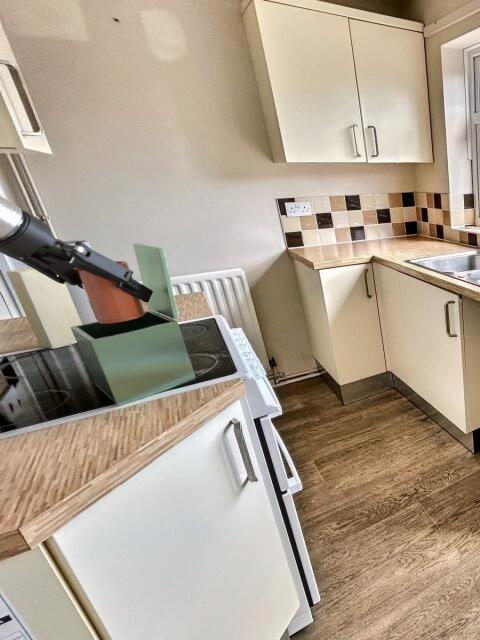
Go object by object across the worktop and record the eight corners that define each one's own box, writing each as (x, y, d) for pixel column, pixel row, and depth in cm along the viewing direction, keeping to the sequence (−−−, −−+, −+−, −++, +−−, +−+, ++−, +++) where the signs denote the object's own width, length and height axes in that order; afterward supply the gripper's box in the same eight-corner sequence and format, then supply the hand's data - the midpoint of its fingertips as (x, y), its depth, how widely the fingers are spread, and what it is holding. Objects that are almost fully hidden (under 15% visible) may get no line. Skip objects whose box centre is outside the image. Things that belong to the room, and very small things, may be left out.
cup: (93, 319, 86) (71, 266, 82) (138, 310, 91) (119, 260, 87) (103, 325, 82) (81, 269, 78) (150, 315, 87) (131, 263, 83)
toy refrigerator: (75, 336, 123) (44, 265, 115) (89, 339, 120) (58, 266, 113) (38, 346, 116) (3, 271, 108) (53, 349, 113) (17, 272, 106)
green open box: (118, 406, 83) (90, 341, 78) (96, 386, 91) (70, 326, 86) (196, 380, 93) (177, 321, 88) (170, 364, 102) (151, 310, 97)
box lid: (158, 248, 83) (163, 248, 84) (132, 243, 92) (137, 243, 92) (174, 319, 88) (179, 318, 88) (148, 308, 96) (152, 307, 97)
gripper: (-67, 246, 67) (79, 312, 88) (47, 244, 65) (169, 312, 86) (-40, 209, 70) (95, 281, 91) (70, 206, 68) (182, 281, 89)
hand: (131, 296), depth 89 cm, fingers closed on cup, 7 cm apart
